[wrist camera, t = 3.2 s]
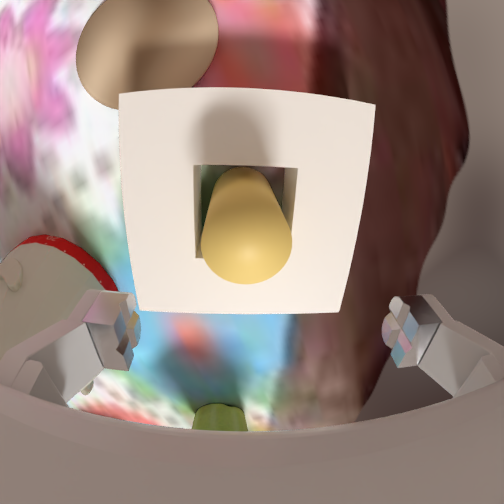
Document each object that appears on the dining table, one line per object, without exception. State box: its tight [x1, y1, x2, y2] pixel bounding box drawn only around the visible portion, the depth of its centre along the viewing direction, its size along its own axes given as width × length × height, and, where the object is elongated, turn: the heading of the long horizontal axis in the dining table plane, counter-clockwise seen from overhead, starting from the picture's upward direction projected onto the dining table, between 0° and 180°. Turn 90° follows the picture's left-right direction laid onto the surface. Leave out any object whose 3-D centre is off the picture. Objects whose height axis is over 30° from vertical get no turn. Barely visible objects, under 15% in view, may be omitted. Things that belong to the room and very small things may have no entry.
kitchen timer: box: [0, 235, 118, 395], centre depth 17 cm, size 14×14×15 cm
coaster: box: [76, 0, 219, 110], centre depth 14 cm, size 10×10×1 cm
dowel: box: [201, 167, 292, 284], centre depth 16 cm, size 4×4×8 cm
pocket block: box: [119, 87, 375, 314], centre depth 18 cm, size 14×14×4 cm
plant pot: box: [192, 404, 248, 431], centre depth 28 cm, size 9×9×9 cm
